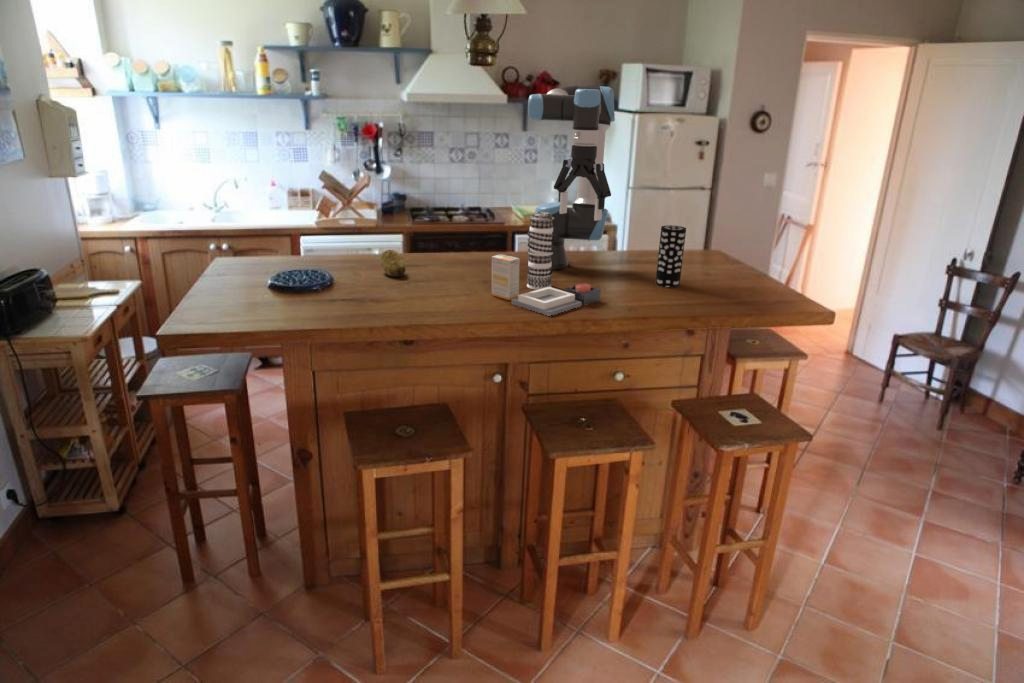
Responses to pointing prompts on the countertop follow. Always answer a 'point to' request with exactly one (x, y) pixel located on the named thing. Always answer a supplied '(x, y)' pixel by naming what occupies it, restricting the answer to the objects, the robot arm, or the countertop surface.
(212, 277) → the countertop surface
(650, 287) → the countertop surface
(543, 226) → the decorative candle
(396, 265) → the potato
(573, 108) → the robot arm
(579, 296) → the button housing
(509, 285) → the supplement box
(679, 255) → the spotted tube
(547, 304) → the plate
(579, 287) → the button
